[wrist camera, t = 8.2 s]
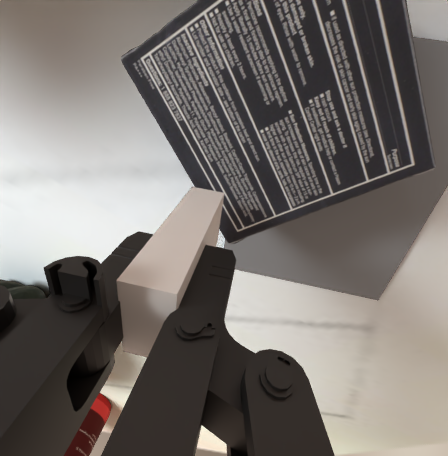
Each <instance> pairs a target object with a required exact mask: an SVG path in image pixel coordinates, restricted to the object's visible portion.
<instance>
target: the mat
mask: <svg viewBox="0 0 448 456" xmlns="http://www.w3.org/2000/svg"><path fill="white" fill-rule="evenodd" d="M413 42H414V47H415V53H416V59H417V64H418V70H419V76H420V81H421V88H422V93H423V98H424V104H425V109H426V114H427V120H428V125H429V131H430V136H431V141H432V147H433V152H434V158H435V165H436V167H435V169H433V170H432V171H429V172H427V173H423V174H420V175H416V176H413V177H409V178H405V179H403V180H400V181H397V182H394V183H392V184H389V185H386V186H383V187H380V188H378V189H375V190H373V191H371V192H367V193H365V194H362V195H359V196H357V197H354V198H351V199H349V200H346V201H343V202H340V203H338V204H335V205H333V206H330V207H327V208H324V209H322V210H319V211H317V212H314V213H311V214H308V215H306V216H303V217H301V218H298V219H295V220H292V221H290V222H287V223H284V224H281V225H278V226H276V227H273V228H270V229H268V230H265V231H262V232H260V233H257V234H254V235H251V236H249V237H247V238H245V239H243V240H241V241H239V242H238V243H236V244H229V243H228V242H227V241H226V239H225V245H224V249H228V250H233V253H234V255H235V258H236V265H235V269H237V270H241V271H246V272H251V273H255V274H260V275H264V276H269V277H274V278H278V279H283V280H287V281H292V282H297V283H301V284H306V285H310V286H315V287H320V288H324V289H329V290H333V291H338V292H342V293H347V294H352V295H356V296H361V297H365V298H370V299H375V300H379V298H380V296H381V295H382V293H383V291H384V290H385V288H386V286H387V285H388V283H389V281H390V280H391V278H392V277H393V275H394V273H395V272H396V270H397V268H398V267H399V265H400V263H401V262H402V260H403V258H404V257H405V255H406V253H407V252H408V250H409V248H410V247H411V245H412V243H413V242H414V240H415V239H416V237H417V235H418V234H419V232H420V230H421V229H422V227H423V225H424V224H425V222H426V220H427V219H428V217H429V215H430V214H431V212H432V210H433V209H434V207H435V205H436V204H437V202H438V201H439V199H440V197H441V196H442V194H443V192H444V191H445V189H446V187H447V186H448V42H446V41H439V40H431V39H424V38H417V37H413Z"/></svg>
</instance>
